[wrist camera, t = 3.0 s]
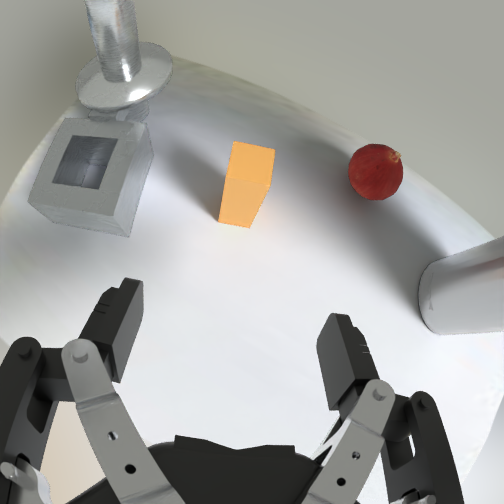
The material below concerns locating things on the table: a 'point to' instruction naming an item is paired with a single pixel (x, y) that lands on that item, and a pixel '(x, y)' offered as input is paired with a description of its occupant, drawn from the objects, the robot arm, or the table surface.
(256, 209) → the orange block
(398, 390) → the table surface
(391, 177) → the pomegranate
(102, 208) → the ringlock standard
